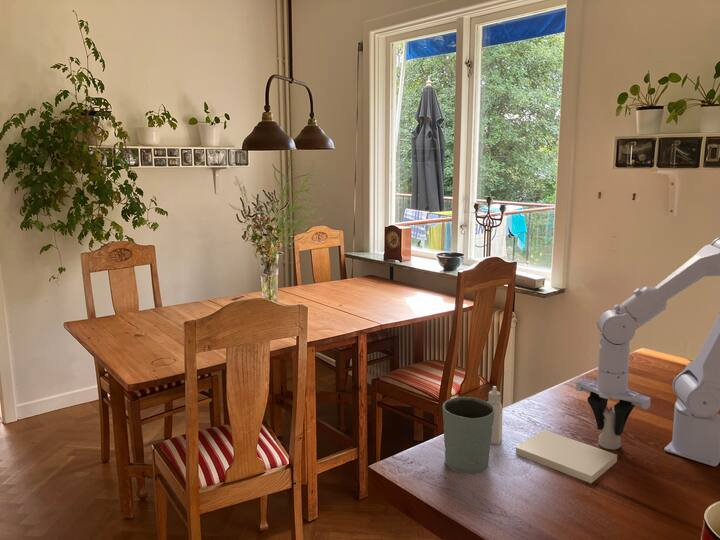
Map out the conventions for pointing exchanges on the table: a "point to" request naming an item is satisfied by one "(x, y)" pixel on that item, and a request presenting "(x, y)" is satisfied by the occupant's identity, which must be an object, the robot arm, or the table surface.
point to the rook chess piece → (609, 431)
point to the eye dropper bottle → (496, 416)
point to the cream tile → (567, 455)
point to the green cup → (467, 433)
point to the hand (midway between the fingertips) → (610, 430)
